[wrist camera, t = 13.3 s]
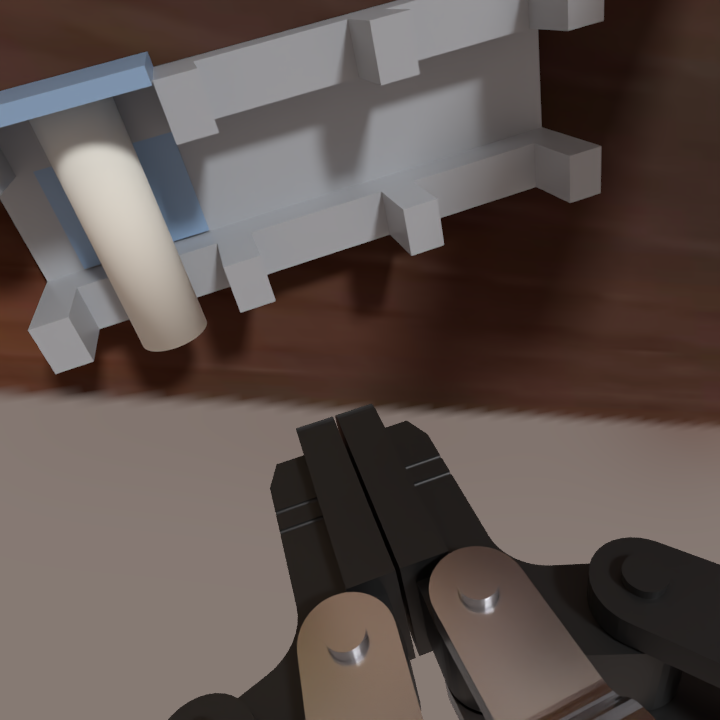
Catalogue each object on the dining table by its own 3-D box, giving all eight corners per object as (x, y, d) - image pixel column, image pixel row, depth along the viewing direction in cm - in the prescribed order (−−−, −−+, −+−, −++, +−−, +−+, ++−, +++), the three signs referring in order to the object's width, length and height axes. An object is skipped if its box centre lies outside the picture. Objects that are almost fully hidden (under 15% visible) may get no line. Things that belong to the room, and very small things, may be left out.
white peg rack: (-50, 104, 23) (-117, 136, 18) (529, -52, 27) (631, -68, 21) (71, 316, 29) (50, 393, 23) (538, 166, 32) (621, 201, 26)
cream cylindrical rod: (31, 106, 22) (18, 118, 20) (110, 84, 23) (107, 93, 20) (142, 328, 28) (142, 359, 25) (203, 307, 28) (210, 335, 26)
